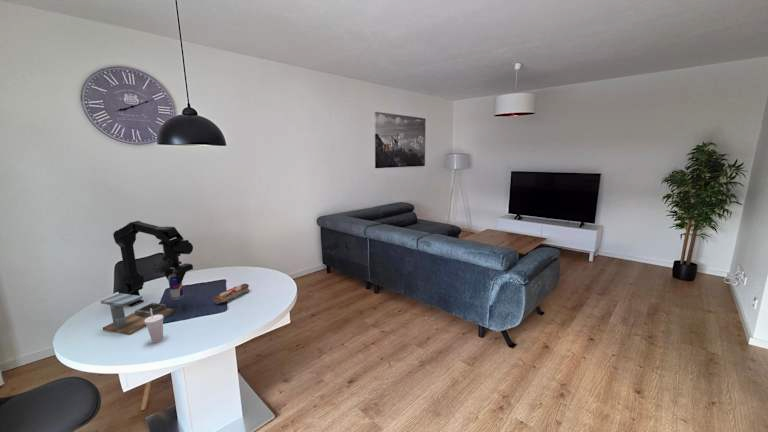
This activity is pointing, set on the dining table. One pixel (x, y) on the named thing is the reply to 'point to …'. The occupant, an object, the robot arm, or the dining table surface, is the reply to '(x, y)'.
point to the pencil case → (231, 293)
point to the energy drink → (175, 287)
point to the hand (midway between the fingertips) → (175, 283)
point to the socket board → (133, 320)
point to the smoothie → (155, 326)
